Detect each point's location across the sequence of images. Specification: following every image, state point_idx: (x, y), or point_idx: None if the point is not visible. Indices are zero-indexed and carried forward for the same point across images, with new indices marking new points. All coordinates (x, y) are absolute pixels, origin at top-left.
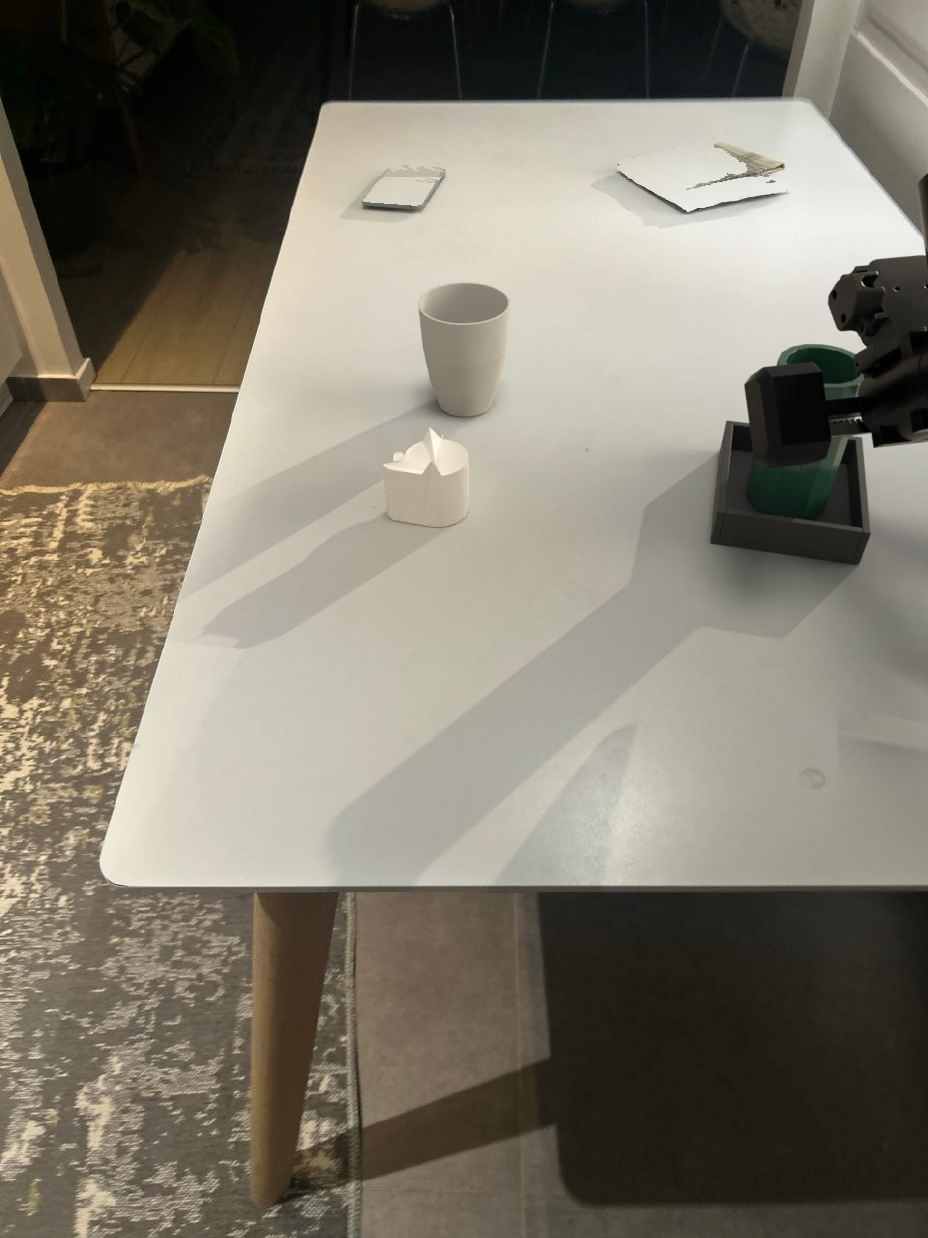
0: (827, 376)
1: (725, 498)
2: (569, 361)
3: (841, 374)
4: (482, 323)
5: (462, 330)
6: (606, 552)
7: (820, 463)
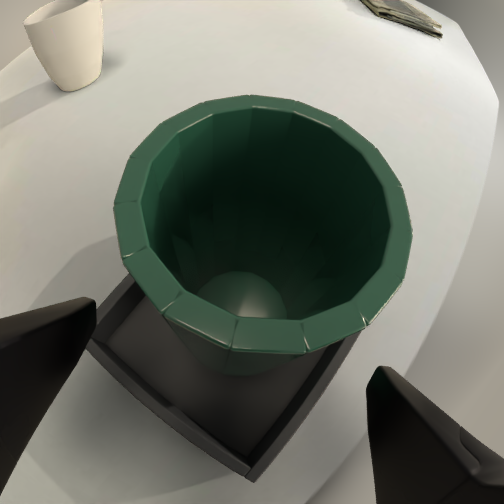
0: (331, 198)
1: (102, 316)
2: (193, 56)
3: (354, 215)
4: (40, 22)
5: (30, 29)
6: (5, 297)
7: (226, 370)
